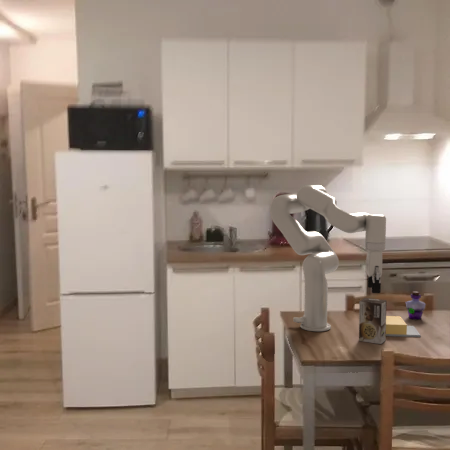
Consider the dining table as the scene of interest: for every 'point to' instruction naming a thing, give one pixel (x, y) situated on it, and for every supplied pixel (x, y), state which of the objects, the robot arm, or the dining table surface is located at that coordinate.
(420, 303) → the potion bottle
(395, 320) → the butter on tray
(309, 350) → the dining table surface
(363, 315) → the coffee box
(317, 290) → the robot arm
